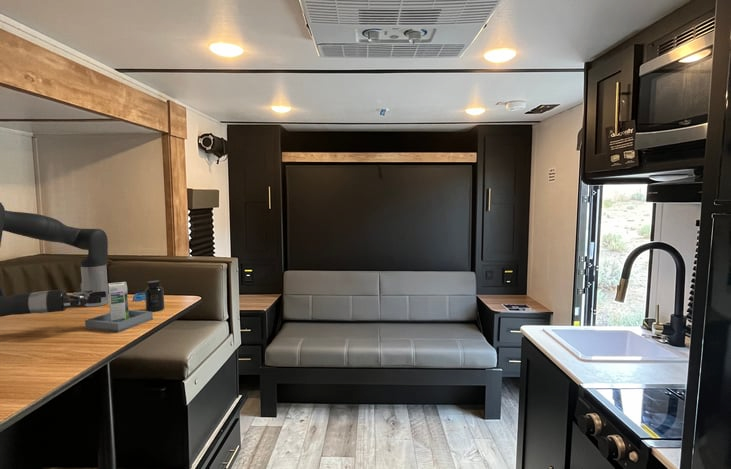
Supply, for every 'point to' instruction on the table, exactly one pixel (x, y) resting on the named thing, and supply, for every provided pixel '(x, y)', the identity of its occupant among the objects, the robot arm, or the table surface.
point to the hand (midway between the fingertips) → (103, 296)
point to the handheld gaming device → (139, 297)
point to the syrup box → (118, 301)
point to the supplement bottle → (154, 296)
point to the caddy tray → (106, 324)
